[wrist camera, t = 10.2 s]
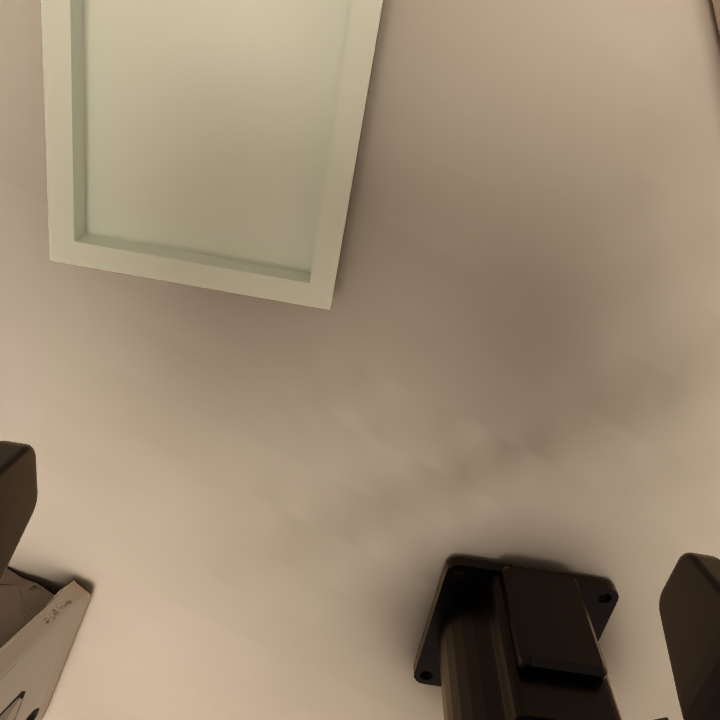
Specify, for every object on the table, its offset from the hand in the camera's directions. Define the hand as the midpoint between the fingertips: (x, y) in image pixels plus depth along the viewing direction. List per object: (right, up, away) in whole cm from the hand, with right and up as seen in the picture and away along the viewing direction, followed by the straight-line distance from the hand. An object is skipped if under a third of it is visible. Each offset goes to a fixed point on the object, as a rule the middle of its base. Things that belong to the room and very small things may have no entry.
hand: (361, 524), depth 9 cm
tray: (-4, +9, +9) cm, 13 cm away
